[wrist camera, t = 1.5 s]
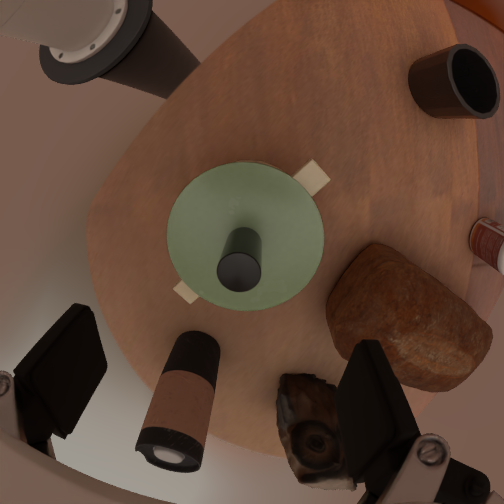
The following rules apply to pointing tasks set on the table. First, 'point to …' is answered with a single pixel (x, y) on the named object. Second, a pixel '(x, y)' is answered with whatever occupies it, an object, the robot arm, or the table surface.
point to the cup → (455, 84)
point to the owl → (311, 432)
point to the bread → (407, 320)
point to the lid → (245, 236)
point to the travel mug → (182, 405)
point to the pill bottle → (488, 242)
